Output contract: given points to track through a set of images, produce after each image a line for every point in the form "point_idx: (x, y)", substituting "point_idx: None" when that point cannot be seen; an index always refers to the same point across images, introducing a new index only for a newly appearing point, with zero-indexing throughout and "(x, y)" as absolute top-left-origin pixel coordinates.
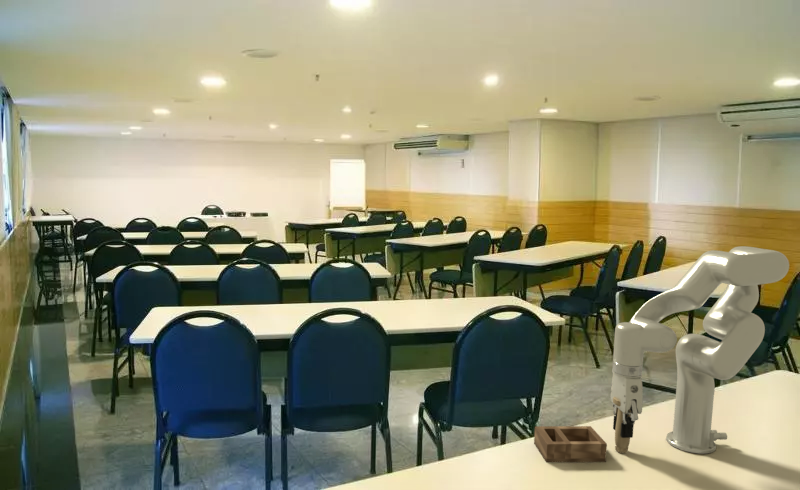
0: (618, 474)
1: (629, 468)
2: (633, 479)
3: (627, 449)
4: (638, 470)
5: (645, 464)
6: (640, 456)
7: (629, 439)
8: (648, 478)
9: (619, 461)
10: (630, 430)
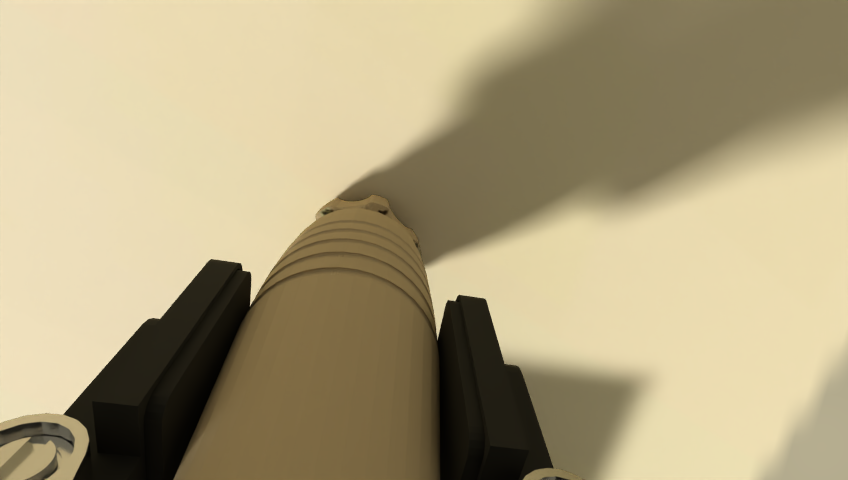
0: (669, 442)
1: (634, 339)
2: (762, 394)
3: (391, 212)
4: (685, 296)
5: (632, 182)
6: (491, 128)
7: (409, 259)
8: (807, 297)
9: (519, 348)
10: (528, 423)
